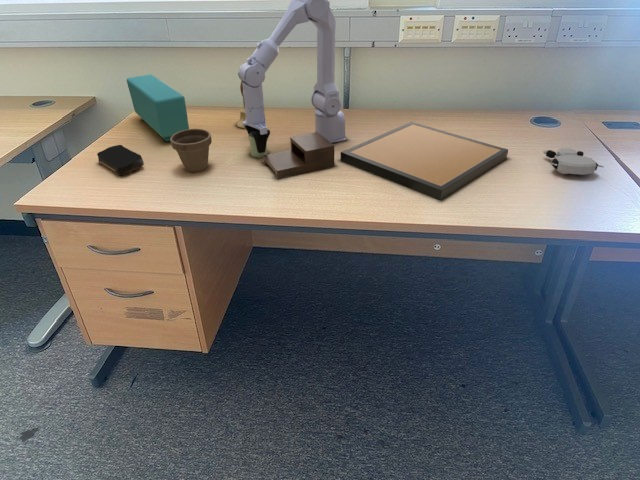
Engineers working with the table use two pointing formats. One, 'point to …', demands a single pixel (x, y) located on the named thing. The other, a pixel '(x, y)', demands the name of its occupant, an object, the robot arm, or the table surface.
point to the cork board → (425, 158)
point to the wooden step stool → (307, 145)
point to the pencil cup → (255, 148)
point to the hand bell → (242, 111)
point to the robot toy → (571, 162)
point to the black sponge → (120, 159)
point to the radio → (158, 105)
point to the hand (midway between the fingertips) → (258, 148)
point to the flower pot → (192, 148)
